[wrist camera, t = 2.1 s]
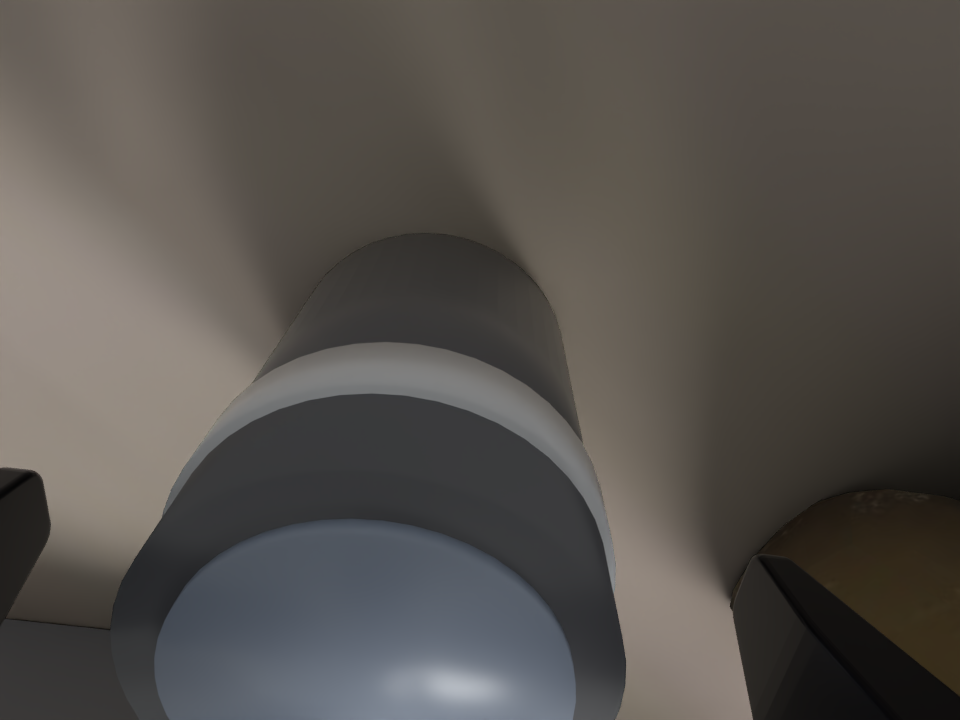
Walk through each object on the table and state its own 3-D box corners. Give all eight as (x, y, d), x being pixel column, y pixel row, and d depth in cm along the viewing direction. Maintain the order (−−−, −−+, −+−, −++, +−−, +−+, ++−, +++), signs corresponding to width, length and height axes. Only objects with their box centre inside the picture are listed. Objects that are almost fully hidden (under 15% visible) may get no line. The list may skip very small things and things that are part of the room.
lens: (593, 248, 12) (706, 515, 6) (543, 489, 14) (582, 877, 8) (293, 209, 12) (50, 438, 5) (291, 460, 14) (118, 832, 8)
